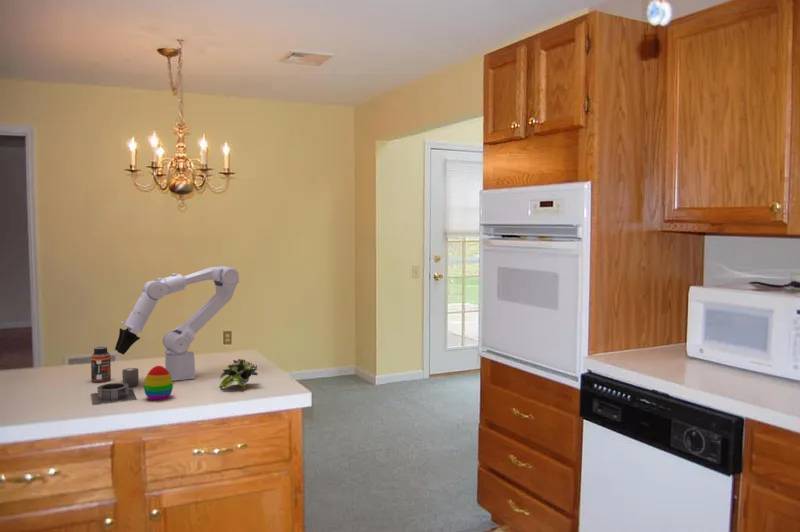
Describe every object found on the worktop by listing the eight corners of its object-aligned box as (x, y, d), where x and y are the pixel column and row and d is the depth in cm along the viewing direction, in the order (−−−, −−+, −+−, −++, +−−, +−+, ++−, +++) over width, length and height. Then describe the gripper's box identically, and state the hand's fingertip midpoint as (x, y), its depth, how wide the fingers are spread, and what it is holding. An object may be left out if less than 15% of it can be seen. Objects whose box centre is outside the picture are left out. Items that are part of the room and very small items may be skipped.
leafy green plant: (239, 401, 208) (257, 368, 212) (249, 403, 199) (268, 369, 203) (210, 384, 204) (229, 352, 208) (218, 386, 195) (238, 352, 199)
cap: (137, 383, 208) (137, 367, 207) (139, 387, 204) (139, 370, 203) (122, 385, 206) (121, 368, 205) (123, 389, 201) (123, 371, 201)
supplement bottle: (103, 383, 208) (102, 349, 207) (87, 382, 209) (86, 348, 208) (114, 378, 214) (114, 346, 213) (99, 377, 215) (98, 345, 214)
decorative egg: (148, 403, 186) (147, 370, 185) (141, 397, 193) (140, 365, 192) (176, 399, 191) (175, 366, 190) (168, 392, 197) (168, 361, 197)
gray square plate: (132, 389, 200) (132, 379, 200) (136, 399, 190) (136, 388, 190) (90, 394, 195) (90, 384, 194) (92, 404, 184) (92, 393, 184)
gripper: (126, 308, 211) (105, 344, 208) (131, 309, 198) (109, 349, 195) (145, 317, 214) (125, 353, 211) (152, 319, 201) (131, 358, 198)
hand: (119, 352), depth 203 cm, fingers open, 7 cm apart
